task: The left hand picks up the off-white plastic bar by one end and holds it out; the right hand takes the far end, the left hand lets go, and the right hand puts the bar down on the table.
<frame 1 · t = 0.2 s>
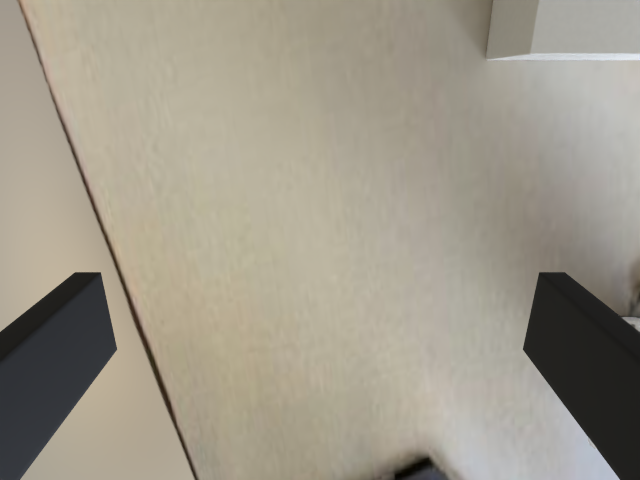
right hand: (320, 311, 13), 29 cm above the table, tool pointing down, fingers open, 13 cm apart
bar: (620, 22, 36), on the table
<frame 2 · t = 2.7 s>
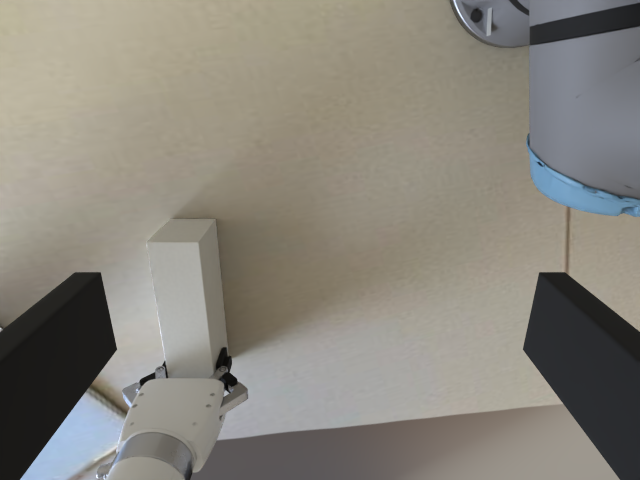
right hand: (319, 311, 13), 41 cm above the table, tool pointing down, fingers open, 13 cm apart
left hand: (201, 356, 58), fingers closed on bar, 6 cm apart
bar: (202, 294, 59), on the table, touching left hand
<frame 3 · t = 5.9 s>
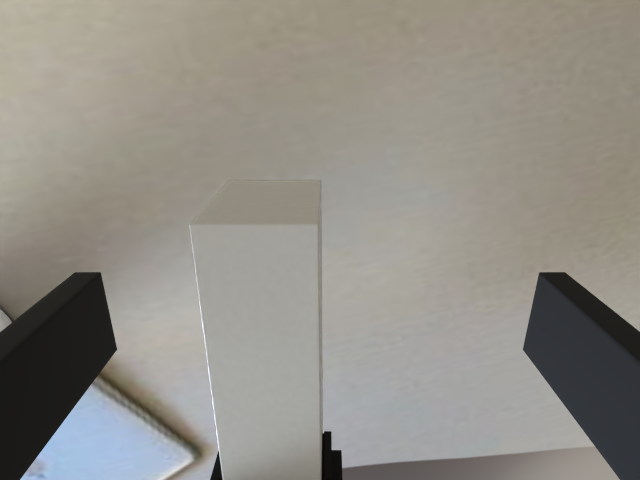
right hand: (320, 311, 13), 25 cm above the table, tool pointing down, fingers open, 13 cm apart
bar: (281, 328, 31), point 10 cm above the table, touching left hand
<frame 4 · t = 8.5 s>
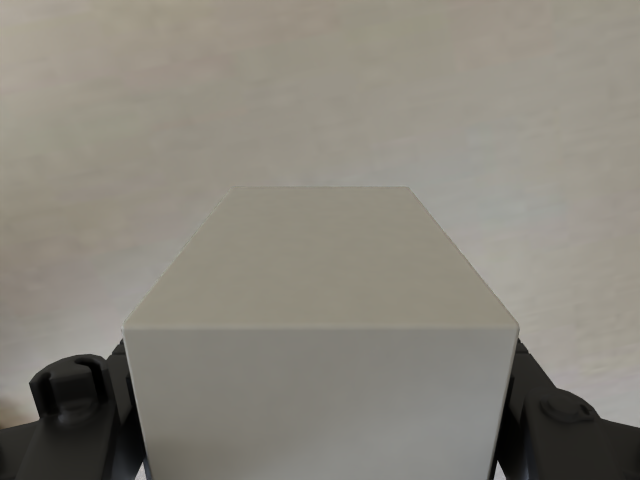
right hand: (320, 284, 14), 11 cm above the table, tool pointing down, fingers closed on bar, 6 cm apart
bar: (319, 440, 18), point 10 cm above the table, touching right hand, left hand
when the left hand's fingers open (14 cm above the table, at t = 9.3 s): bar stays where it is, held by the right hand.
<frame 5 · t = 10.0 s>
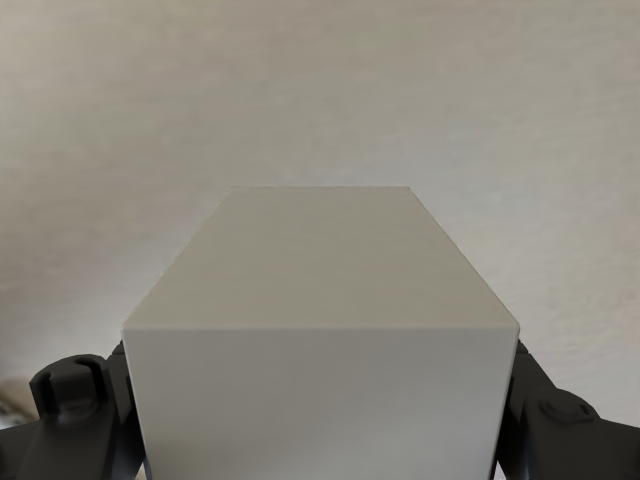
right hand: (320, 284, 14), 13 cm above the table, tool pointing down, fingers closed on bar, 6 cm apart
bar: (320, 440, 18), point 13 cm above the table, touching right hand
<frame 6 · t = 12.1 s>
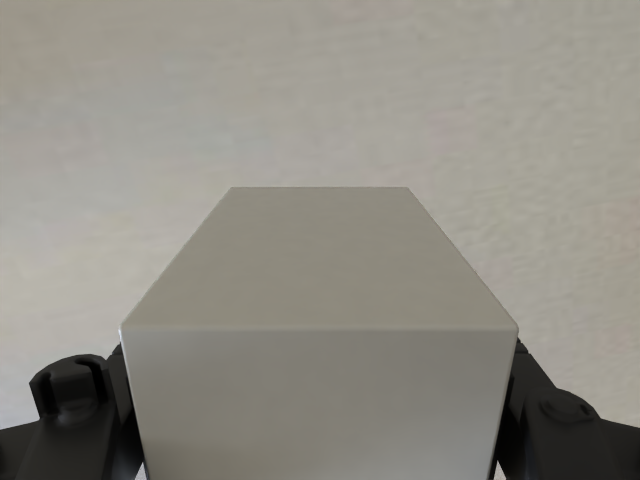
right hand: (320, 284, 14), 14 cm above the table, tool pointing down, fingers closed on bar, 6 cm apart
bar: (319, 440, 18), point 13 cm above the table, touching right hand
when the right hand's fingers open (2 cm above the table, at t = 16.2 s): bar drops 1 cm, on the table.
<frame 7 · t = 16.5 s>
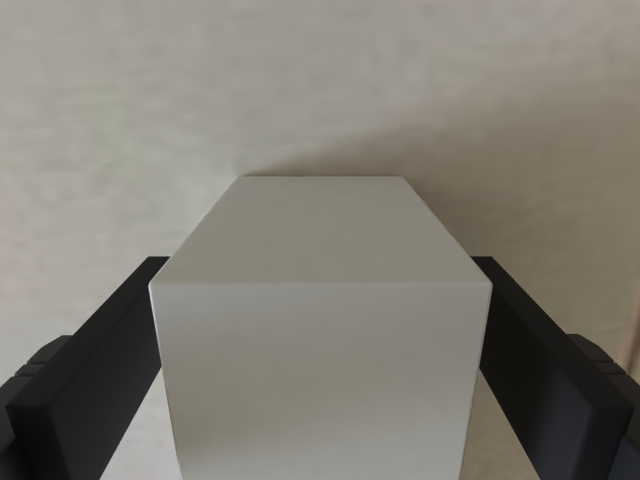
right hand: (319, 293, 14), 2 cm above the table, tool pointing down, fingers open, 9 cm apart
bar: (320, 418, 19), on the table
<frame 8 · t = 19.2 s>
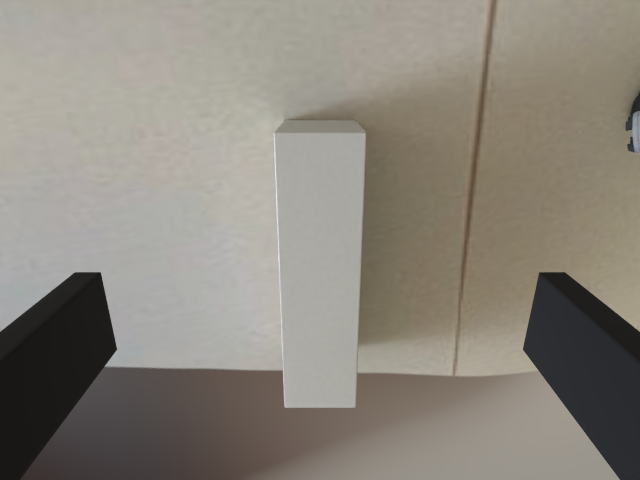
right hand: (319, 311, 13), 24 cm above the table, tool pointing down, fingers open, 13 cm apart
bar: (320, 245, 38), on the table
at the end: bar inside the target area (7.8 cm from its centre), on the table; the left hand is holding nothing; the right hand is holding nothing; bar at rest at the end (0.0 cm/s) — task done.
